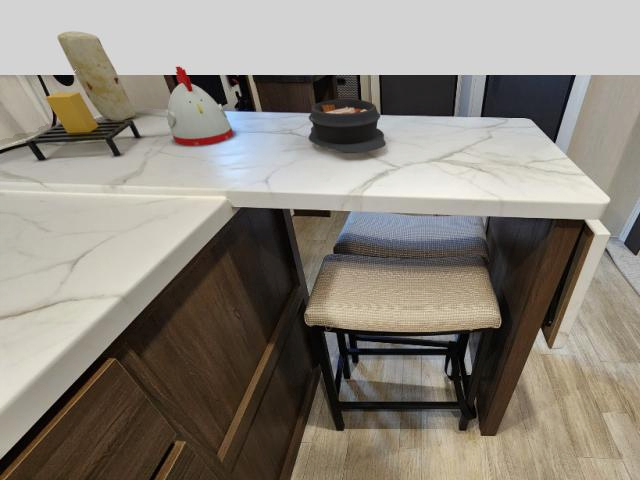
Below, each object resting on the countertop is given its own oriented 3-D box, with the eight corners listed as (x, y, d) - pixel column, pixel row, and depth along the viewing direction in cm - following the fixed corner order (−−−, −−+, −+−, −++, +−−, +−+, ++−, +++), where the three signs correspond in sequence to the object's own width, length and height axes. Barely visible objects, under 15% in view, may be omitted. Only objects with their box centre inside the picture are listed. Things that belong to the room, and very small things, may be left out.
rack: (38, 160, 72) (24, 141, 70) (70, 140, 82) (59, 123, 80) (119, 155, 75) (108, 137, 72) (141, 136, 85) (132, 119, 82)
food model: (141, 115, 100) (101, 30, 86) (133, 121, 95) (89, 32, 81) (105, 116, 98) (58, 30, 85) (95, 123, 93) (44, 32, 80)
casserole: (296, 135, 87) (289, 99, 81) (360, 125, 94) (357, 91, 88) (330, 167, 71) (325, 124, 65) (404, 152, 78) (405, 113, 72)
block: (67, 133, 74) (44, 97, 69) (77, 127, 77) (56, 92, 72) (89, 132, 75) (69, 96, 70) (98, 126, 78) (79, 92, 73)
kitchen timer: (183, 149, 78) (152, 74, 68) (168, 135, 86) (137, 66, 75) (241, 138, 85) (220, 67, 75) (222, 126, 92) (200, 60, 82)
